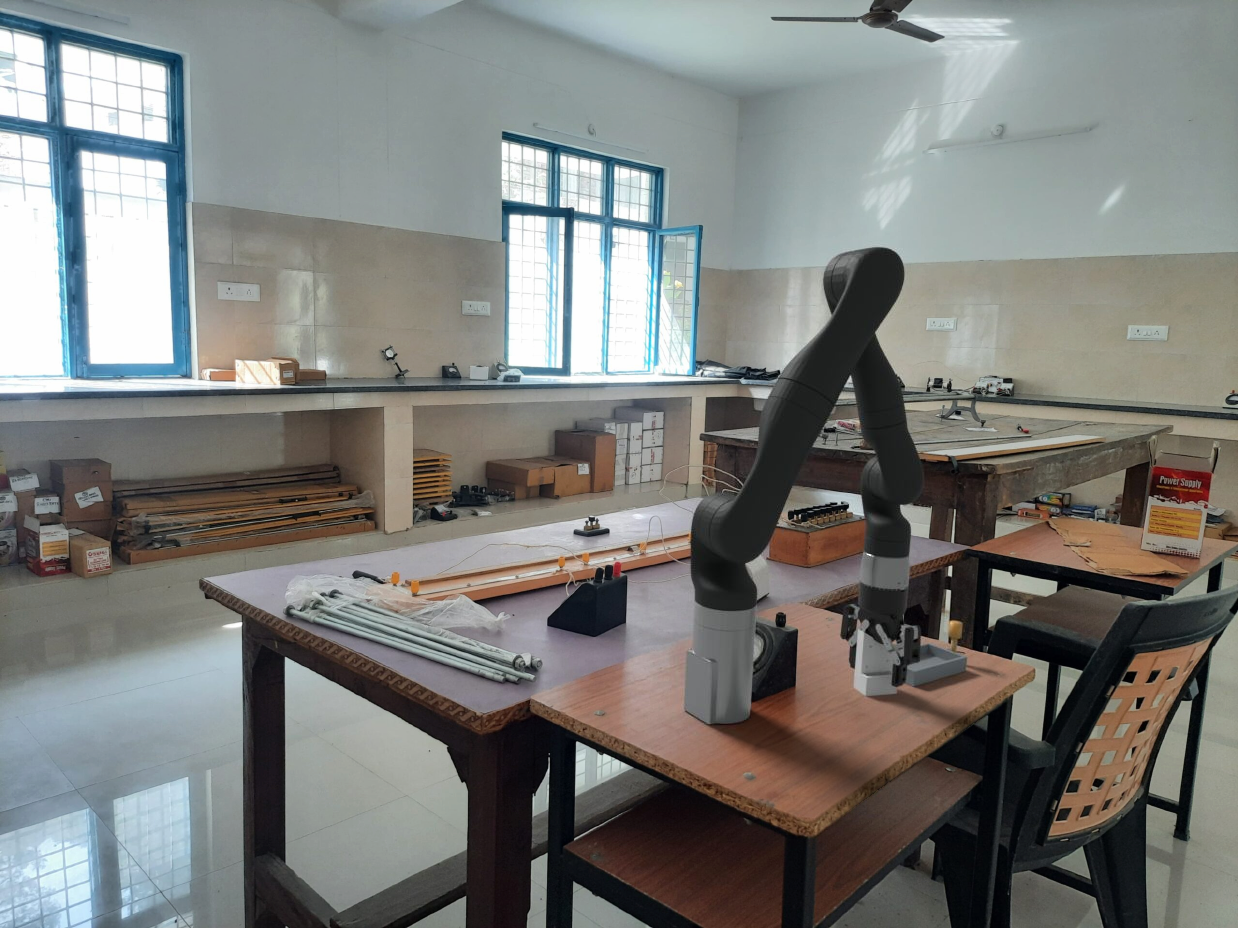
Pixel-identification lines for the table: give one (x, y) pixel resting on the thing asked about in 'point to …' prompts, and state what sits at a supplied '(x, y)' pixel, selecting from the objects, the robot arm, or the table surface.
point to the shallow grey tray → (937, 660)
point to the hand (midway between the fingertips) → (876, 676)
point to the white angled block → (872, 667)
